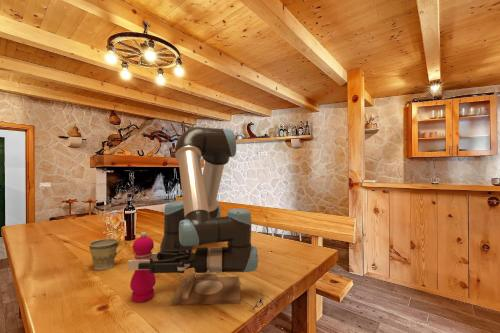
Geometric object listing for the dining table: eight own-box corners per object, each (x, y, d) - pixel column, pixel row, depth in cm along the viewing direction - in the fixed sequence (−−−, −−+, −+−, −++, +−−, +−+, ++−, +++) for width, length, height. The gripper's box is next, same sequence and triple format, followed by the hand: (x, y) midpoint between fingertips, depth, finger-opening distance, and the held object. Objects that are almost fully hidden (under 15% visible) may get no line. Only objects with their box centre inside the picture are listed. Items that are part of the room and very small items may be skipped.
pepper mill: (135, 291, 78) (135, 229, 78) (158, 290, 79) (158, 228, 79) (125, 303, 71) (126, 235, 71) (151, 302, 71) (151, 235, 72)
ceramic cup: (87, 274, 90) (87, 247, 90) (90, 264, 99) (90, 240, 99) (126, 267, 96) (126, 242, 96) (126, 259, 105) (126, 236, 105)
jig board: (171, 305, 70) (171, 294, 70) (182, 281, 85) (182, 272, 85) (240, 303, 72) (240, 292, 72) (239, 279, 87) (239, 270, 87)
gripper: (205, 285, 67) (118, 288, 66) (211, 260, 85) (143, 262, 84) (205, 258, 67) (118, 260, 66) (211, 239, 85) (143, 240, 84)
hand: (132, 261), depth 75 cm, fingers closed on pepper mill, 5 cm apart
